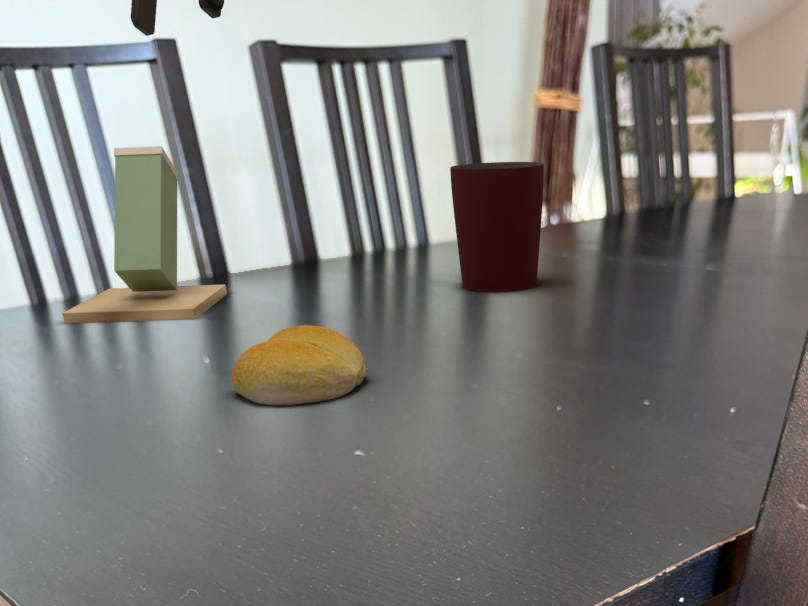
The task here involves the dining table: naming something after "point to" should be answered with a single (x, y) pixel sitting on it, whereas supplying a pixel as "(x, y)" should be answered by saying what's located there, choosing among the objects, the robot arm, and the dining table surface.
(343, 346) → the bread roll
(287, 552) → the dining table surface
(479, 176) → the mug
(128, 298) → the post base
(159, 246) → the post
